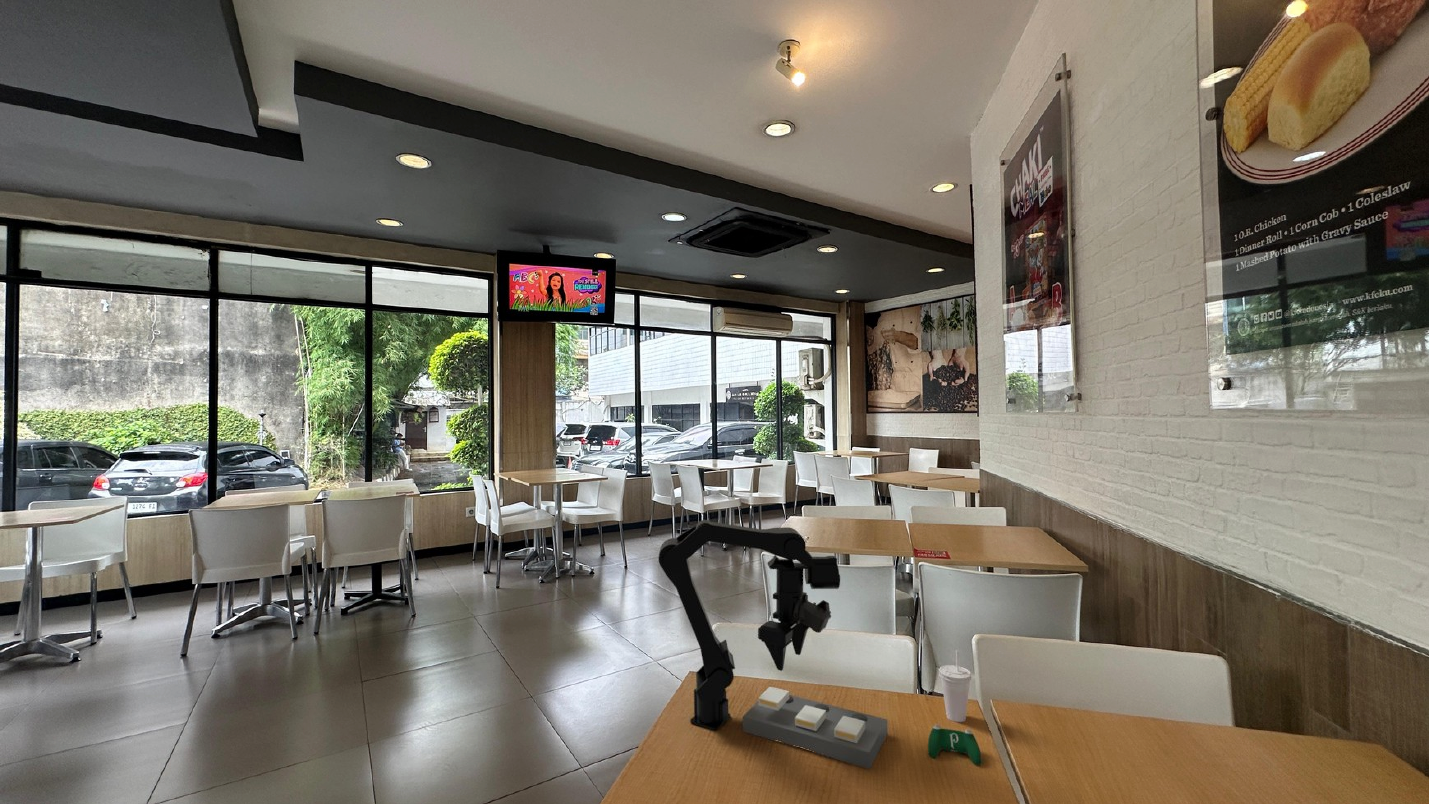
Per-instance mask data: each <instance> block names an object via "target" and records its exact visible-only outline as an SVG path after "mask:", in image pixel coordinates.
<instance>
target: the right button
mask: <svg viewBox="0 0 1429 804" xmlns="http://www.w3.org/2000/svg"><path fill="white" fill-rule="evenodd" d="M864 731H865V721H862V720H858V719H854V718H851V717H847V716H843V717H842V718H841V720H840V721H839V723H838V724H837V726H836V727H835V728H834V737H836V738H839V739H843V740H847V741H850V742H854V743H858V741H859V739H860V737H861V736H862V734H863V732H864Z"/></svg>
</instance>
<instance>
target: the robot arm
mask: <svg viewBox="0 0 1429 804" xmlns="http://www.w3.org/2000/svg"><path fill="white" fill-rule="evenodd" d="M708 542H711V543H718V544H724V545H731V546H737V547H743V548H751V549H756V550H761V551H764V552H767V553H769V554H771V555H773V557H772V558H771V559H770V560H769V561H767V563H766V564H767V566H768V568H769V569H770V570H776V584H775V585H776V592H774V593H772V599H773V600H776V604H775V606H776V609H775V612H773V613H772V619H775V621H773V620H767V621H766V622H764V623H763V624H762V625H761V626H760V627H758V629H757V639H758V640H761V642H762V643H764V645H765V646H766V648H767V650H768V652H769V653H770V656H771V658H772V660H773V663H774V664H775V665H774V666H775V667H776V670H778V671H780V672H782V671H783V670H784V666H785V665H784V664H785V660H786V659H785V658H786V653H787V652H786V651H787V647H788V645H790V644H792V647H793V650H794V654H795V655H797V656H800V655H801V653H802V651H803V647H804V643H805V639H806V636H807V633H808V630H809V629H811V631H812V632H815V633H818V634H819V633H821V632H822V631H823V630H824V629H826V627H827V625H828V622H829V620H830V619H831V617H832V612H831V611H830V609H831V608H830V603H829V602H828V601H827V600H823V599H822V600H821V601H820V602H819V603H817V602H813V603H812V602H811V601H809V599H808V598H809V595H808V594H807V592H805V591H804V581H805V584H806V585H809V586H810V588H811V590H834V589H835V590H838V589H839V588H840V586H841V575H840V571H839V570H840V569H839V566H838V558H837V557H836V556H834V555H826V556H812V555H811V554H810V552H809V551H808V550H807V548H806V541H805V539H804V538H803V536H802V535H801V534H800V533H799V532H798V531H797V530H796V529H795V528H792V527H770V528H765V529H764V528H754V527H748V526H741V525H734V524H729V523H728V524H727V523H721V522H715V521H710V520H707V519H702V520H699V522H697V523H696V524H695V525H694V526H692V527H691V528H689V529H687V530H685V531H683V532H682V533H681V534H679V535H678V536H677V537H676V538H674V537H673V538H668V539H666V540H664V541H663V542H662V544H661V546H660V550H659V553H658V563H659V566H660V568H661V569H662V570H663V572H664V573H665V576H666V577H667V578H668V579H669V581H670V582H671V584H673V586H674V587H675V589H676V592H677V595H678V596H679V600H680V601H681V604H682V606H683V609H684V612H685V613H686V616H687V619H688V621H689V624H690V626H691V629H692V631H693V634H694V636H695V638H696V641H697V644H698V646H699V649H700V654H701V660H702V663H703V664H702V666H701V667H700V668H699V669H698V670H697V671H696V672H695V682H696V684H695V686H696V688H694V690H693V715H694V716H693V717H692V718H690V719H689V722H690V723H691V724H693V725H696V726H700V727H702V728H706V729H710V730H712V731H717V730H719V728H721V727H722V726H723V725H724V723H726V722H727V721H728V720H729V719H730V718H731V713H730V712H729V698H727V690H726V689H727V688H728V687H730V686H731V685H732V683H733V680H734V679H735V678H734V677H735V676H734V671H733V670H735V669H736V667H735V660H734V655H733V654H732V652H731V651H730V650H729V647H728V642H727V641H728V640H727V639H724V640H723V641H720V640H719V639H718V637H717V636H716V634H715V632H714V629H713V627H712V624H711V622H710V620H709V617H708V614H707V611H706V609H705V607H704V604H703V602H702V600H701V596H700V595H699V592H698V590H697V587H696V584H695V582H694V580H693V577H692V572H691V567H690V562H689V559H690V558H691V557H692V556H693V555H694V554H696V552H697V551H699V550H700V549H701V548H702V547H703V546H704V545H706V544H707V543H708ZM778 557H780V558H781V559H780V558H778ZM794 561H797V562H794ZM776 620H778V621H776Z"/></svg>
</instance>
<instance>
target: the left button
mask: <svg viewBox="0 0 1429 804" xmlns="http://www.w3.org/2000/svg"><path fill="white" fill-rule="evenodd" d="M789 695H790V690H785V689H781V688H778V687H774V686H769V687H767V689H765V690H764V692H762V694H761V695H760V696H759V697H758V699H757V700H758V701H757V702H758V705H759V706H763V707H767V708H770V709H774V710H779V709H780V708H781V707H782V706H783V705H784V704H785V703H786V701H787V700H788V699H789Z"/></svg>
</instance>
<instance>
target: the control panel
mask: <svg viewBox="0 0 1429 804" xmlns="http://www.w3.org/2000/svg"><path fill="white" fill-rule="evenodd" d="M805 705H807V706H811V707H815V708H819V709H822V710H826V719H825V720H824V721H823V723H822V724H821V725H820V727H819V728H818V730H817V731H813V730H810V729H806V728H803V727H799V726H796V725H795V717H796V716H797V715H798V713H799V712H800V711H801V710H802V709H803V707H804V706H805ZM843 716H847V717H851V718H854V719H858V720H862V721H865V731H864V732H863V734H862V736H861V737H860V739H859V741H858V743H854V742H850V741H847V740H843V739H839V738H836V737H834V728H835V727H836V726H837V724H838V723H839V721H840V720H841V718H842V717H843ZM742 732H744V733H747V734H751V735H755V736H756V737H760V736H761V738H764V737H765V738H764V739H767V738H768V739H767V740H770V739H771V740H770V741H774V740H778V741H781V742H783V743H782V744H784V743H786V744H785V745H787V744H790V745H795V746H799V747H803V748H805V749H809V750H811V751H814V752H816V753H815V754H817V753H818V754H817V755H820V754H823V755H822V756H824V755H825V756H824V757H828V758H830V757H831V758H830V759H834V760H836V761H841V762H845V763H847V764H851V765H854V766H856V767H857V766H858V767H861V768H864V769H868V770H870V769H871V768H872V766H873V764H874V762H875V760H876V757H877V756H878V754H879V752H880V751H881V748H882V746H883V745H884V743H885V740H886V738H887V736H888V719H887V718H884V717H883V718H882V717H879V716H874V715H870V714H867V713H863V712H860V711H855V710H851V709H848V708H847V709H846V708H843V707H840V706H835V705H832V704H828V703H824V702H819V701H815V700H811V699H808V698H804V697H799V696H796V695H792V694H789V699H788V700H787V701H786V703H785V704H784V705H783V706H782V707H781V708H780V709H779V710H774V709H770V708H767V707H763V706H759V705H758V701H757V702H755V703H754V704H753V706H751V708H749V710H748V711H746V712H745V713H744V714H743V715H742ZM790 745H789V746H790ZM814 752H813V753H814Z"/></svg>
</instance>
